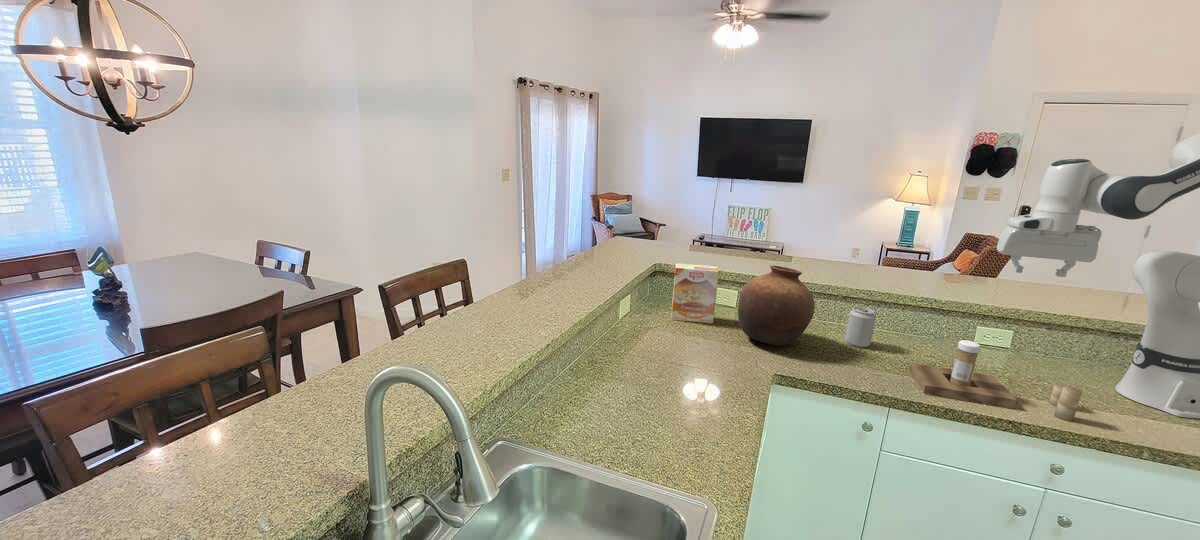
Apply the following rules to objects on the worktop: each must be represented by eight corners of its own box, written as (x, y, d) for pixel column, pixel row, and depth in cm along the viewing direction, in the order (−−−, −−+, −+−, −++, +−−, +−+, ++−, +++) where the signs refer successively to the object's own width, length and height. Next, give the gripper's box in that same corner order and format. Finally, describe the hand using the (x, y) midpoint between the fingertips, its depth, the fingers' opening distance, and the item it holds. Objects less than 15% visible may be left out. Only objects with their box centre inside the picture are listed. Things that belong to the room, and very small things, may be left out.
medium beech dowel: (1070, 415, 119) (1079, 388, 117) (1075, 422, 116) (1084, 395, 114) (1052, 411, 120) (1060, 385, 118) (1056, 418, 117) (1065, 391, 115)
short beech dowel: (1062, 403, 125) (1067, 385, 124) (1069, 409, 122) (1075, 391, 121) (1046, 400, 126) (1051, 383, 125) (1053, 406, 123) (1058, 389, 122)
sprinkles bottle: (971, 390, 129) (984, 344, 126) (963, 394, 127) (975, 347, 124) (952, 383, 133) (964, 338, 130) (944, 387, 131) (955, 341, 127)
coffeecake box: (670, 320, 172) (675, 267, 167) (671, 313, 179) (675, 262, 174) (713, 324, 170) (719, 270, 165) (712, 317, 177) (717, 265, 172)
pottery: (729, 347, 151) (739, 270, 145) (739, 323, 172) (747, 255, 165) (808, 362, 143) (821, 281, 136) (808, 334, 164) (819, 263, 157)
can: (871, 342, 159) (877, 308, 156) (869, 350, 153) (876, 315, 150) (845, 337, 163) (852, 303, 160) (843, 344, 157) (849, 309, 153)
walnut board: (990, 383, 134) (992, 375, 133) (1014, 409, 121) (1017, 400, 120) (908, 370, 140) (910, 362, 139) (923, 393, 127) (925, 385, 126)
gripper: (1095, 224, 125) (1079, 276, 128) (1001, 217, 131) (988, 267, 134) (1111, 228, 119) (1094, 282, 123) (1012, 221, 125) (998, 272, 129)
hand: (1038, 274), depth 129 cm, fingers open, 8 cm apart
